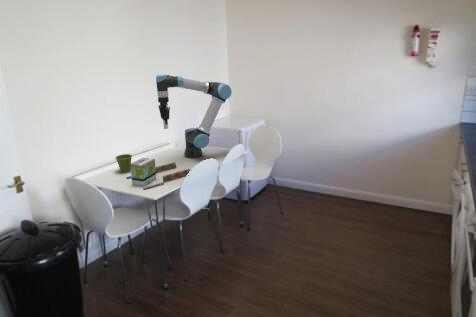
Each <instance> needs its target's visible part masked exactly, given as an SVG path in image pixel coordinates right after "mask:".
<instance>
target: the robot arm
mask: <svg viewBox="0 0 476 317" xmlns="http://www.w3.org/2000/svg"><path fill="white" fill-rule="evenodd" d="M155 83H156V84H155V85H156V92H157V102H158V103H159V105H158V106H157V107H158V111H159V115H160V119H162V121H163V129H164V130H166V129H169V122H168V120H170V110H171V107H170V106H169V101H170V99H169V90H168V89H170V88H180V89H186V90H191V91H197V92H202V93H203V94H206V95H209V96H210V98H211V101H210V102H209V105H208V108H207V109H206V110H205V114H204V115H203V116H204V117H203V118H202V120H201V122H200V125H199V126H198V127H191V128H189V127H188V128H185V129H184V138H185V139H184V140H185V149H184V155H183V156H184V158H187V159H195V158H201V157H202V156H203V150H202V149H204V148H207V147H208V145H209V144H210V136H211V132H210V131H211V128H212V127H213V124H214V122H215V120H216V118H217V115H218V113H219V111H220V109H221V107H222V106H223V104H225V103H226V100H227V99H229V98H230V97H231V96H232V88H231V86H230V84H227V83H225V82H219V81H217V82H216V81H205V82H204V81H200V80H195V79H194V80H193V79H189V78H184V77H183V76H181V75H177V76H174V75H170V74H167V75H166V73H165V74H157V75H156V76H155Z"/></svg>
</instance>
